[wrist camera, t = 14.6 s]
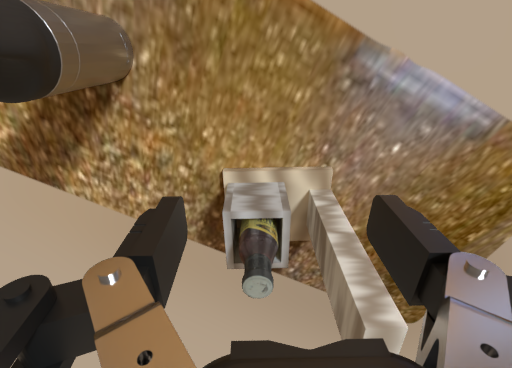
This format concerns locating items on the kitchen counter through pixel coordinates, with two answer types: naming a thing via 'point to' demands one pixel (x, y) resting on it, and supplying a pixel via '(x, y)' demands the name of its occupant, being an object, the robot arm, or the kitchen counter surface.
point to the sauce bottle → (258, 255)
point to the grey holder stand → (314, 243)
